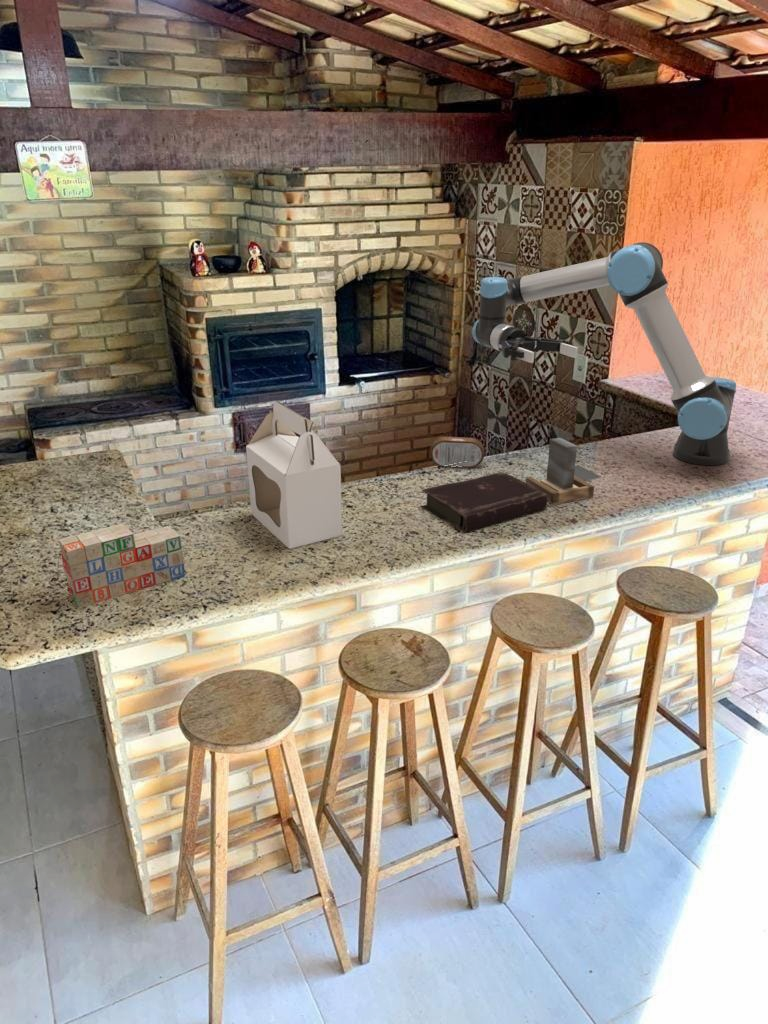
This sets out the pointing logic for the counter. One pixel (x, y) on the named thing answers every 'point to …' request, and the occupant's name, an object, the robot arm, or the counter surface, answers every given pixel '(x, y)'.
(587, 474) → the mat
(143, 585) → the stack of blocks
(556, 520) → the counter surface
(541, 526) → the counter surface
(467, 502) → the diary
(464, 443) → the tin
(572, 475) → the grey tall block
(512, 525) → the counter surface
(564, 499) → the tray
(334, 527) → the gable box
